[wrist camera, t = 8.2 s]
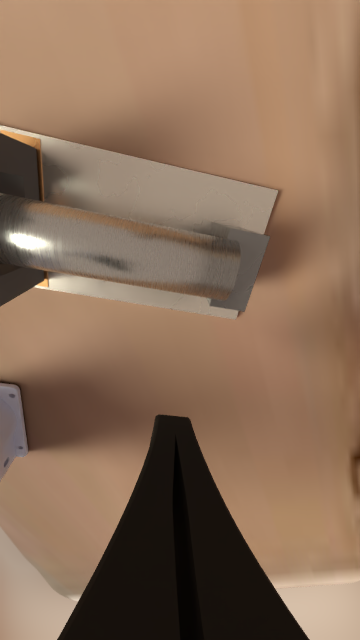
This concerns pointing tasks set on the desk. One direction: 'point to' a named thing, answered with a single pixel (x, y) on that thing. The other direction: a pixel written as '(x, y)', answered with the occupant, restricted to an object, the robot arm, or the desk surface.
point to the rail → (136, 229)
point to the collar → (18, 180)
